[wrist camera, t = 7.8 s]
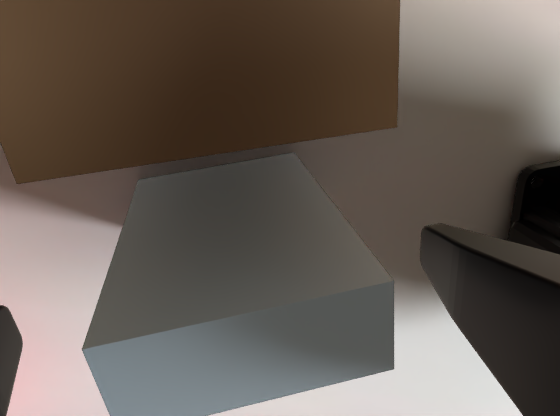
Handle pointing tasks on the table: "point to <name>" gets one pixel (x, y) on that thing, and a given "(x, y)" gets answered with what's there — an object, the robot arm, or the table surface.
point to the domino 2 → (236, 294)
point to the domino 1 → (187, 78)
